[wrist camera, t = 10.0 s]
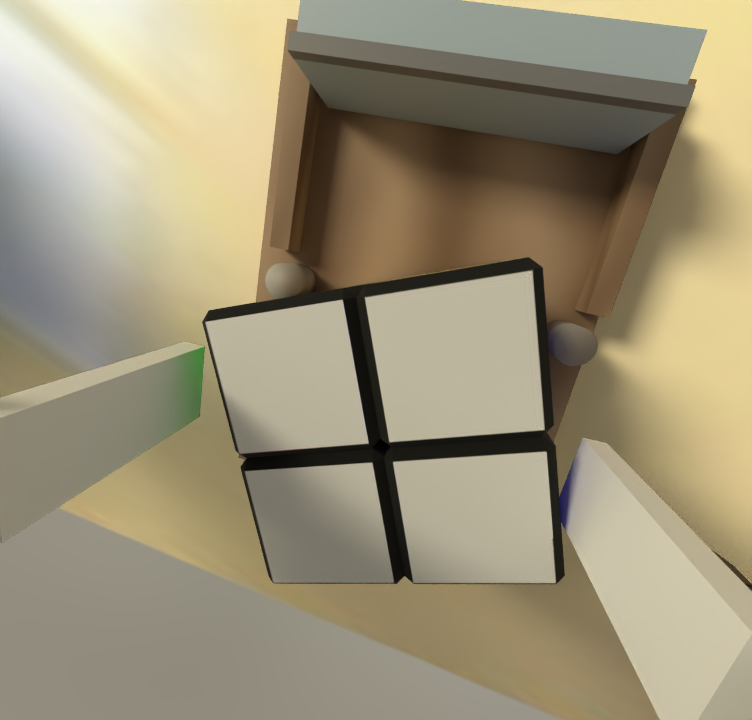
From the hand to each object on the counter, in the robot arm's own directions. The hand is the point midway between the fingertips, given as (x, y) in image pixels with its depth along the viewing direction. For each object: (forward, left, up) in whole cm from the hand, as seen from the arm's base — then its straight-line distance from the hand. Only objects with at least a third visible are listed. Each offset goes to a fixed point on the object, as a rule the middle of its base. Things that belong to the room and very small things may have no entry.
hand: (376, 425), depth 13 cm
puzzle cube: (0, 0, -9) cm, 9 cm away
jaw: (0, +13, -8) cm, 15 cm away
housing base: (0, +3, -10) cm, 10 cm away
